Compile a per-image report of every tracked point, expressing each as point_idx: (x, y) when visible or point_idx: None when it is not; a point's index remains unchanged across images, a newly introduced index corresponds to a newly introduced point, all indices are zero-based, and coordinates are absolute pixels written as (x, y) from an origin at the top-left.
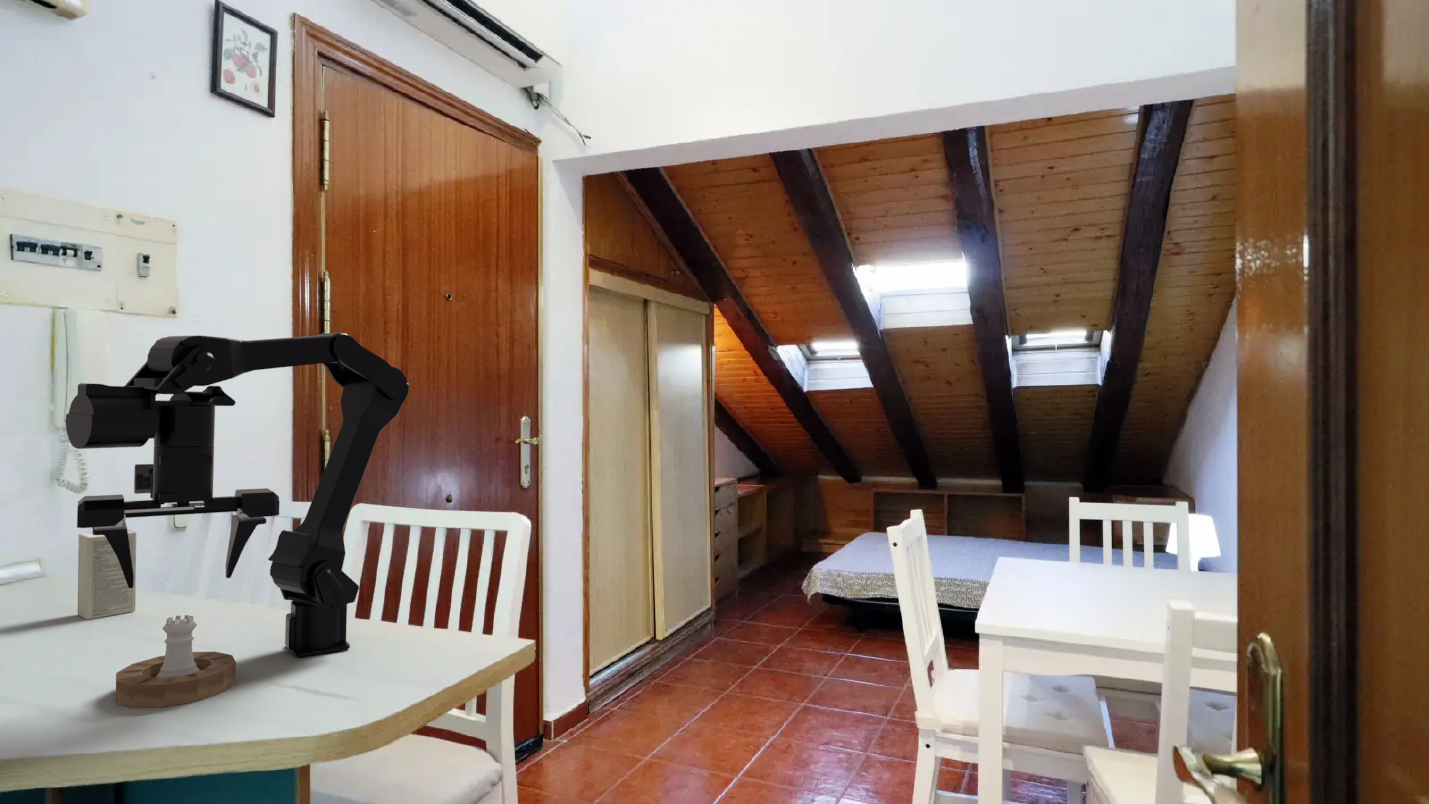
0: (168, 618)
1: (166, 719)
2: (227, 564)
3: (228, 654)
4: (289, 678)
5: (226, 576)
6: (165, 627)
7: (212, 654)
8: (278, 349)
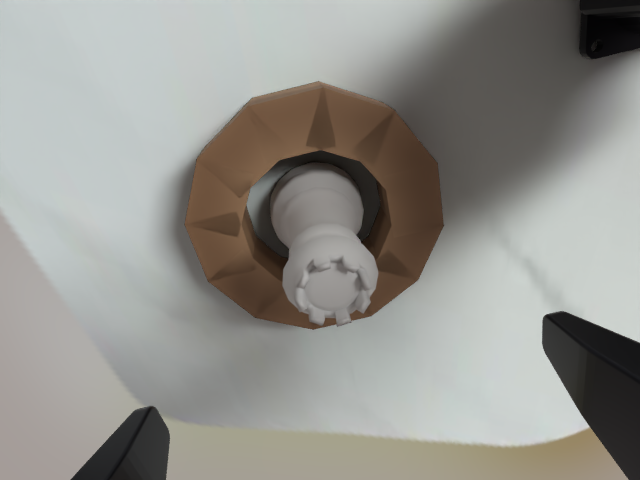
0: (297, 287)
1: (324, 352)
2: (589, 407)
3: (428, 153)
4: (531, 213)
5: (545, 347)
6: (294, 302)
7: (389, 139)
8: None
